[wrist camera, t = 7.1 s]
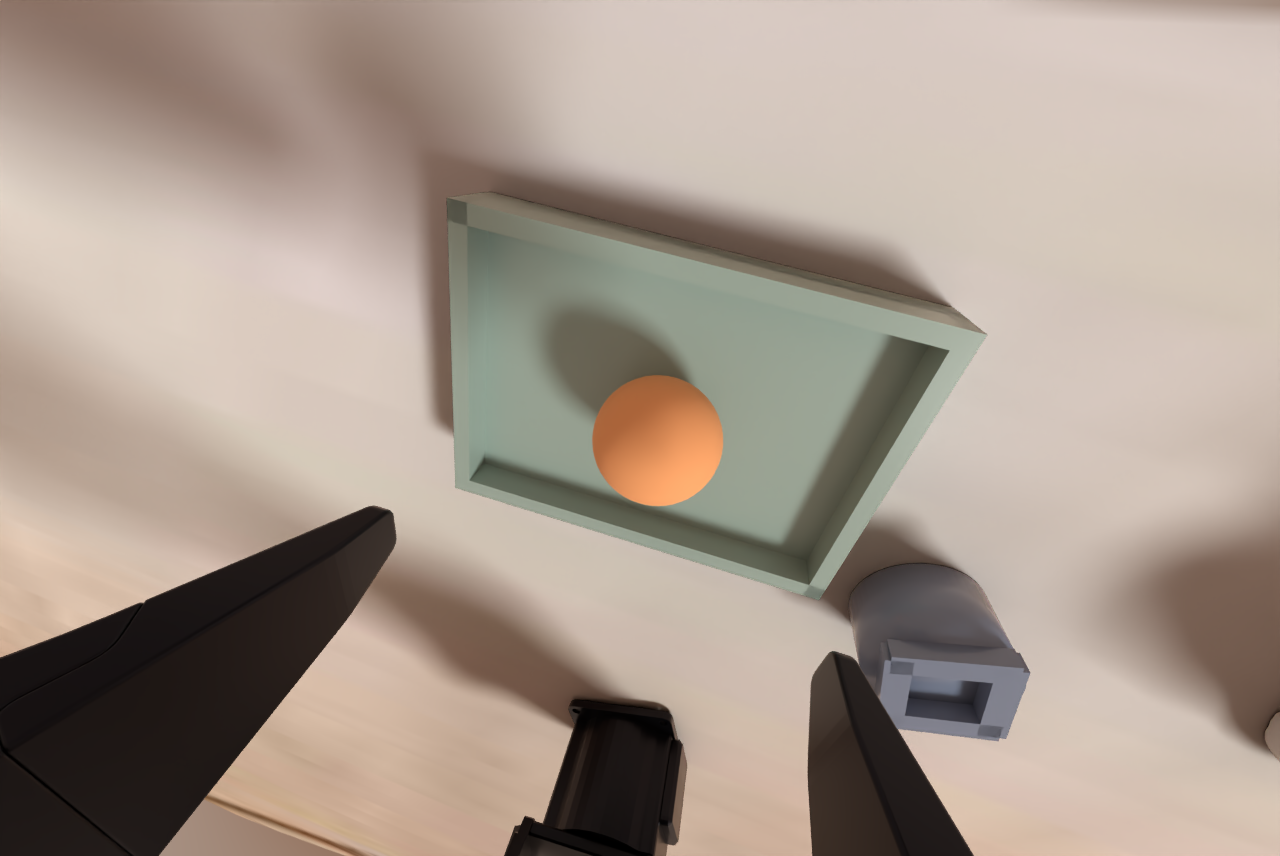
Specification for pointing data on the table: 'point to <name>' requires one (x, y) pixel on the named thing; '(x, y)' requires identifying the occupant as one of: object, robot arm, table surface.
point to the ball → (657, 440)
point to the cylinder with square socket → (936, 652)
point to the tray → (701, 355)
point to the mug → (1274, 735)
